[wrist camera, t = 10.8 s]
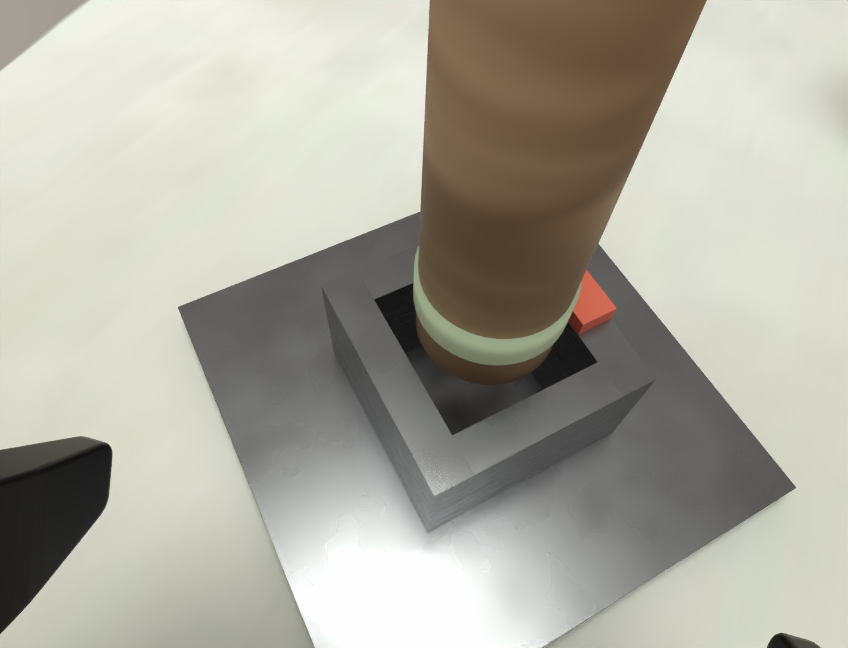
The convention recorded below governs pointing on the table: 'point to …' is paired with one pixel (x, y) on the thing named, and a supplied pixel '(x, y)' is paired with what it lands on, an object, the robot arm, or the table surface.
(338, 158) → the table surface
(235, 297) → the stand
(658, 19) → the post
